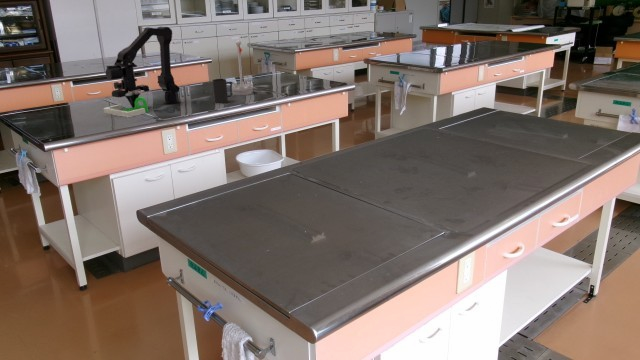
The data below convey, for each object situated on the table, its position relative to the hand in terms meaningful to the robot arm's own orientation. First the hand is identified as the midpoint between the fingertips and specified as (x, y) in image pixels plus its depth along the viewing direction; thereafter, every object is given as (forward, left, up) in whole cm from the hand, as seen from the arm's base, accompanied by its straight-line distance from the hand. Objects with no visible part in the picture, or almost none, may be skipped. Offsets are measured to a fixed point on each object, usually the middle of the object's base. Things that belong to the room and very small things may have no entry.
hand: (133, 107), depth 268 cm
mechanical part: (+2, +4, -2) cm, 5 cm away
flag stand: (-59, +20, -2) cm, 63 cm away
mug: (-37, +27, -2) cm, 46 cm away
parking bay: (+6, 0, -2) cm, 6 cm away
